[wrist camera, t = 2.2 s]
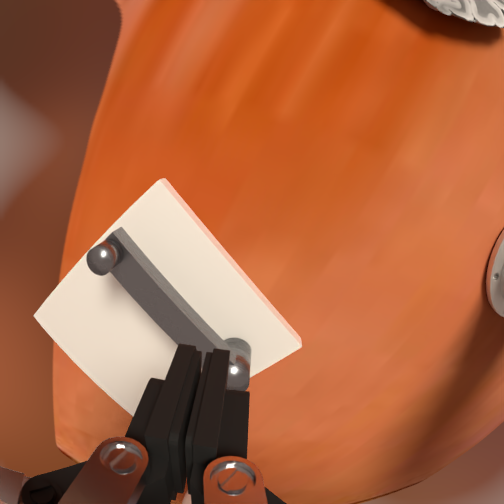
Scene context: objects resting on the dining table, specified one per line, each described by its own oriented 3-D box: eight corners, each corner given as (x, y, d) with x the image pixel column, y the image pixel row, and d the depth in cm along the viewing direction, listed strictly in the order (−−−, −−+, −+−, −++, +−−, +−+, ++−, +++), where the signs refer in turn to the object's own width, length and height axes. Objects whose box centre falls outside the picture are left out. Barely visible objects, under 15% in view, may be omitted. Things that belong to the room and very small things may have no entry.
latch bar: (258, 353, 28) (256, 398, 22) (233, 368, 29) (226, 413, 23) (136, 217, 25) (101, 236, 19) (113, 239, 25) (77, 263, 20)
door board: (300, 337, 29) (307, 377, 24) (151, 420, 34) (137, 455, 29) (165, 177, 25) (137, 185, 20) (40, 310, 30) (10, 335, 25)
